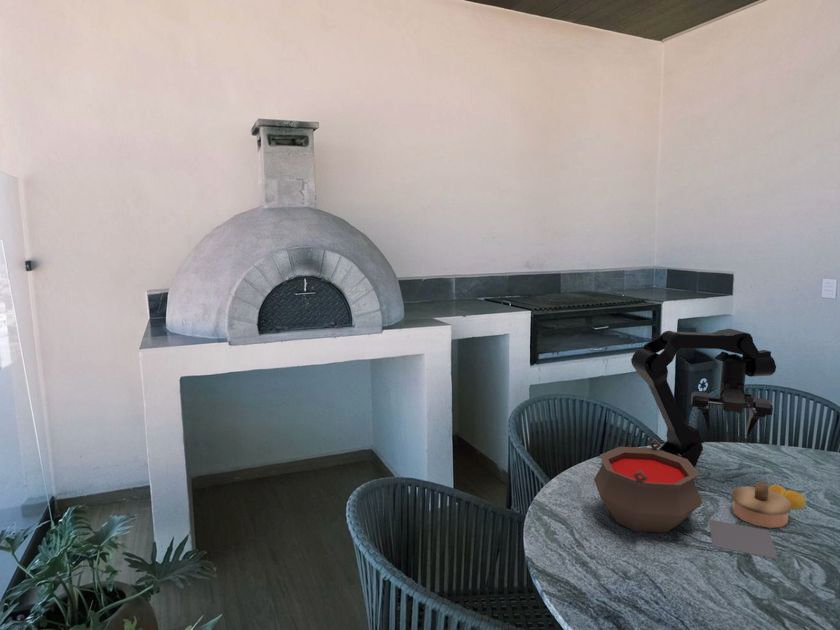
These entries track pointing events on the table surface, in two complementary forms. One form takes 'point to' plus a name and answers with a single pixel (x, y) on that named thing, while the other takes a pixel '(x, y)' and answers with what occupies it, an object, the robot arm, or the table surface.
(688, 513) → the brown soup pot
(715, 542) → the mat
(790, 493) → the bread roll
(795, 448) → the table surface
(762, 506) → the lid
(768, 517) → the bowl
